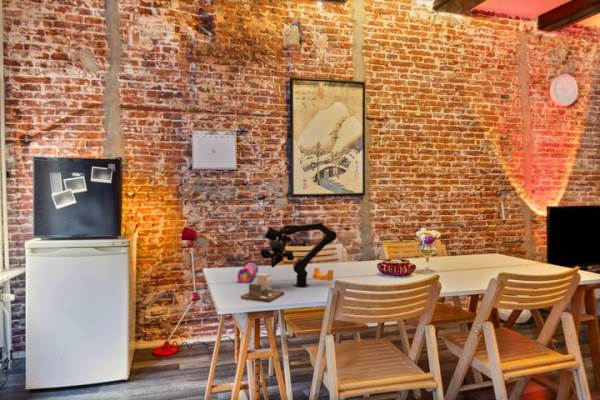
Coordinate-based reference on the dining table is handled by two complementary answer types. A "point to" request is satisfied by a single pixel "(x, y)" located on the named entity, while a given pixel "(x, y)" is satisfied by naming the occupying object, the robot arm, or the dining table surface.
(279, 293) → the gauge base
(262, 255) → the robot arm
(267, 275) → the block
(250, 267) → the pencil case
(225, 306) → the dining table surface
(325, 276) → the pipe clamp
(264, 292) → the reading marker
